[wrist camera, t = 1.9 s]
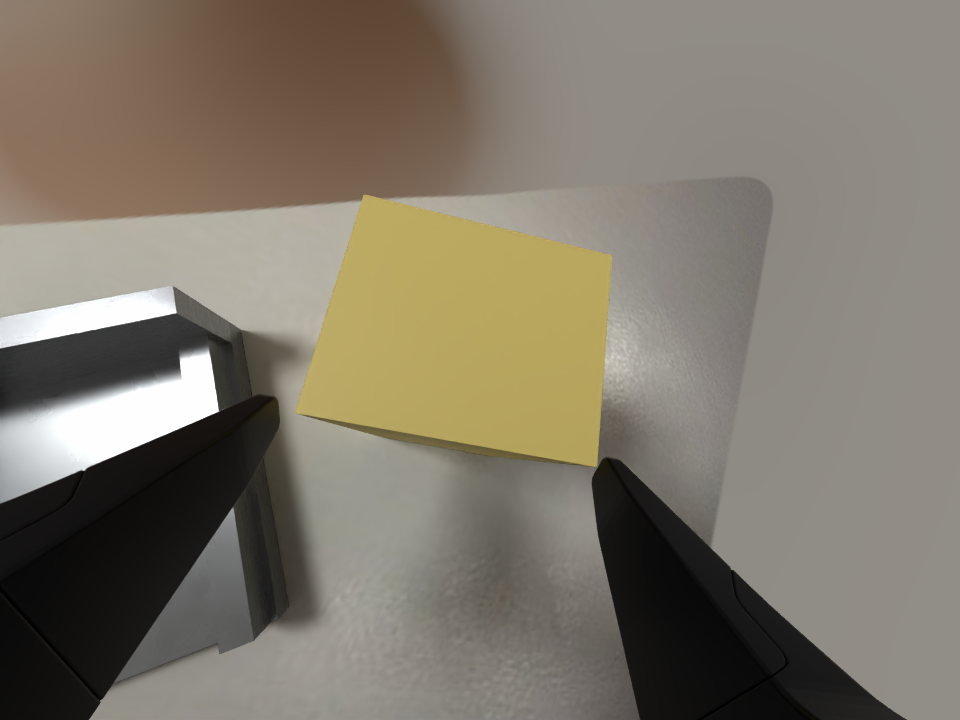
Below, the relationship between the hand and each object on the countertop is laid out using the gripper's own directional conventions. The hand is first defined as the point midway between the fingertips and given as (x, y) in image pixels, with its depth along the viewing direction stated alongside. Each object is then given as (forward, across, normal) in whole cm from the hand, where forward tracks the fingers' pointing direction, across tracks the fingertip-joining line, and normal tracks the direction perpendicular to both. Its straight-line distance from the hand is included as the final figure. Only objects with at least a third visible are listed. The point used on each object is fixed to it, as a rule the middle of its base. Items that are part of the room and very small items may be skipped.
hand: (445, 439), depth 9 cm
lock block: (+8, 0, +5) cm, 10 cm away
